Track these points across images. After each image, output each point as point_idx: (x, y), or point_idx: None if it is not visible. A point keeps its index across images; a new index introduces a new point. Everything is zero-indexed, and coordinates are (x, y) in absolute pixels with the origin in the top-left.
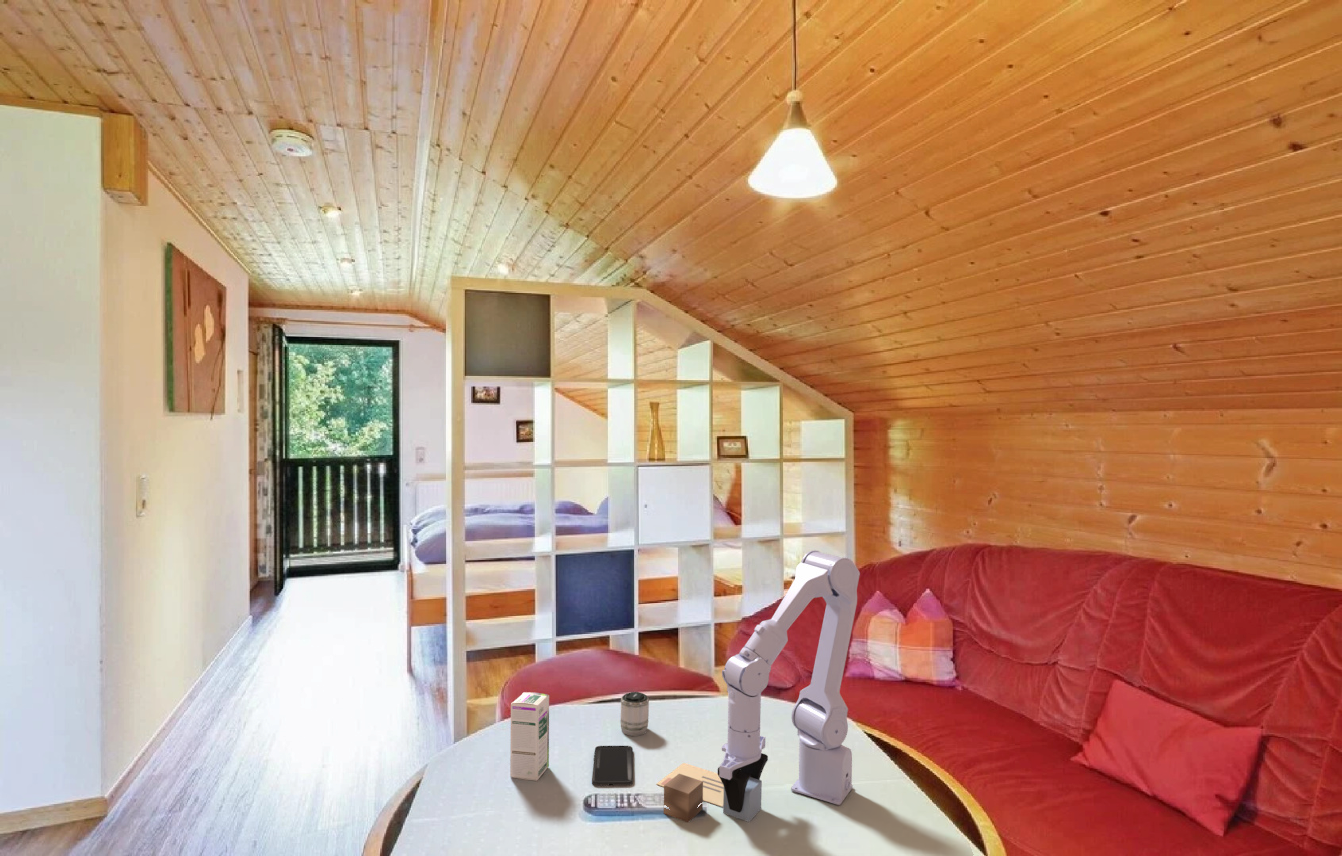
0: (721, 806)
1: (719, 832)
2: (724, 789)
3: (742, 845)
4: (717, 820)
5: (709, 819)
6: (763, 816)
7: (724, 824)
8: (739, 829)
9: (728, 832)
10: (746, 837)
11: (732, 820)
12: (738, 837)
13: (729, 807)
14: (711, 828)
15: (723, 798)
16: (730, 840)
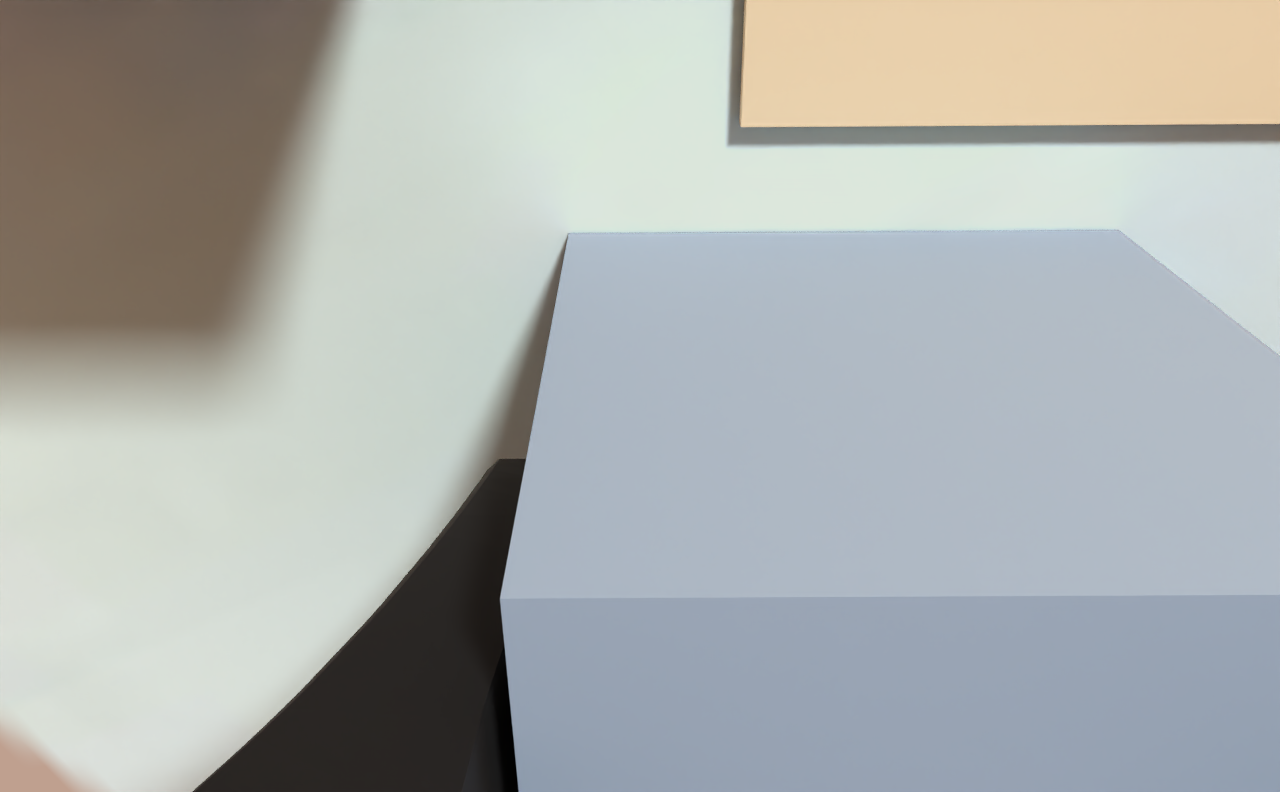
0: (744, 105)
1: (34, 441)
2: (517, 521)
3: (61, 766)
4: (288, 260)
5: (203, 119)
6: None
7: (276, 407)
8: (330, 619)
9: (146, 539)
10: (241, 742)
11: (466, 455)
12: (160, 677)
13: (481, 481)
14: (8, 290)
15: (545, 358)
16: (16, 631)
